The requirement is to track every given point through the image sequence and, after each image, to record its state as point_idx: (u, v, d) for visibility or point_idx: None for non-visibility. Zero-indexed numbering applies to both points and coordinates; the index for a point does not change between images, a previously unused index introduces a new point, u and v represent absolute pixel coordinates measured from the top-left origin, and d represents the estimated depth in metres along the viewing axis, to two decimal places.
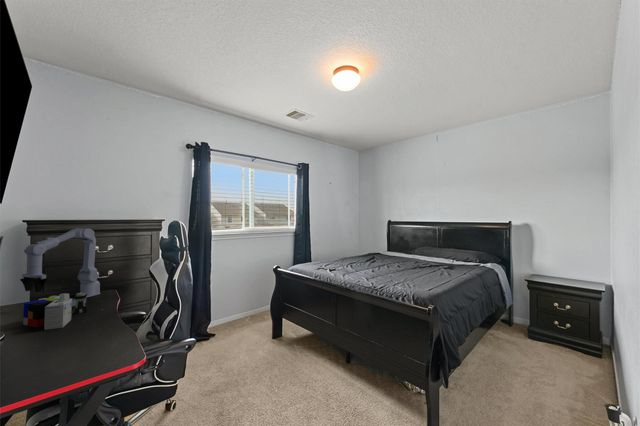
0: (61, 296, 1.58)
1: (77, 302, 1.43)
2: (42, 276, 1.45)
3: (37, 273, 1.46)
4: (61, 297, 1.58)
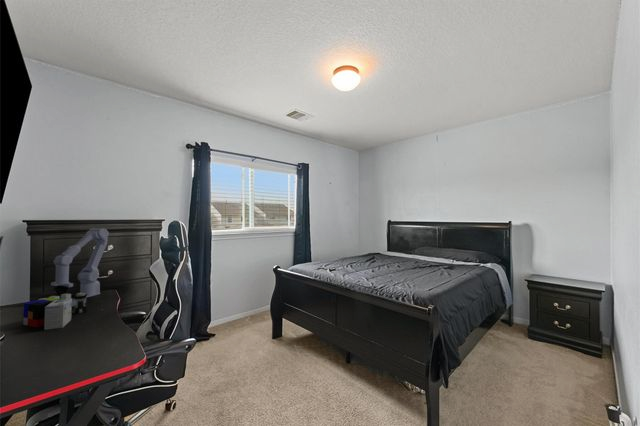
0: (62, 296, 1.58)
1: (77, 302, 1.43)
2: (69, 285, 1.58)
3: (65, 282, 1.59)
4: (63, 297, 1.58)
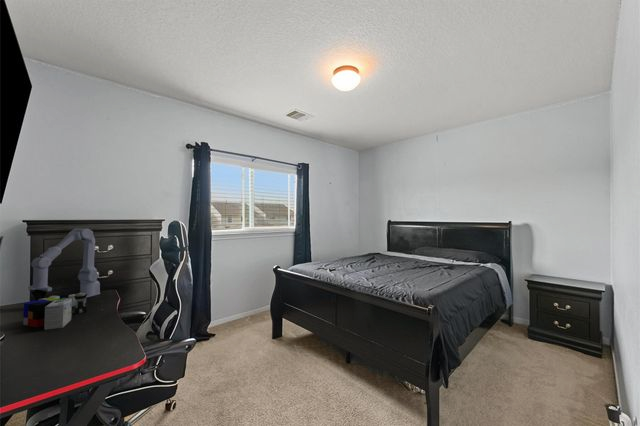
0: (70, 297, 1.57)
1: (77, 302, 1.43)
2: (48, 289, 1.48)
3: (43, 286, 1.50)
4: (70, 298, 1.57)
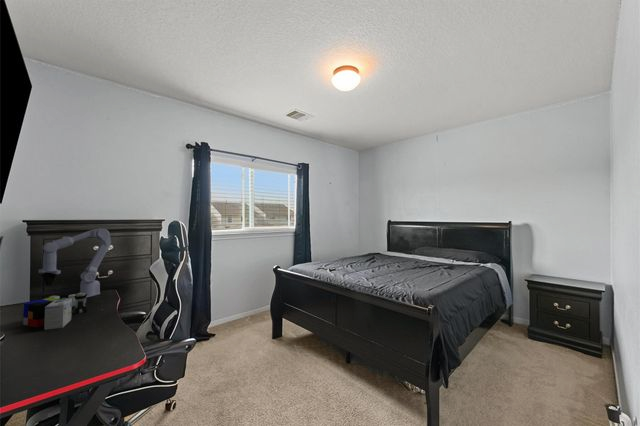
0: (70, 297, 1.57)
1: (77, 302, 1.43)
2: (57, 271, 1.58)
3: (52, 269, 1.60)
4: (70, 298, 1.57)
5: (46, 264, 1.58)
